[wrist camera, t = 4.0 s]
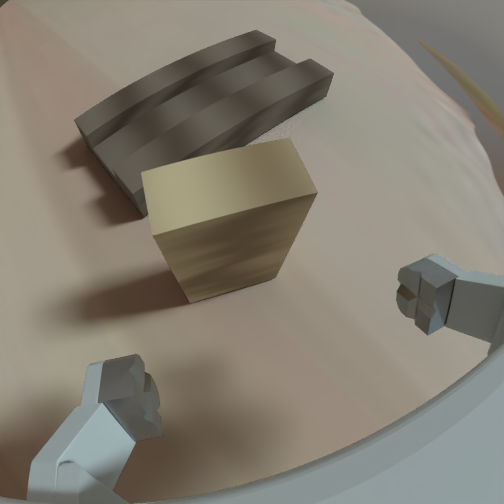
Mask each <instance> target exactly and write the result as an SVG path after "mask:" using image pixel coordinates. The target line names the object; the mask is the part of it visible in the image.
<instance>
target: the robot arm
mask: <svg viewBox="0 0 504 504" xmlns="http://www.w3.org/2000/svg"><path fill="white" fill-rule="evenodd" d="M398 281H399V283H400V284H401V285H400V286H399V288H398V290H397V296H396V301H397V304H398V308H399V309H400V311H401V312H402V313H403V314H404V315H405V316H406V317H408V318H412V319H414V321H415V325H416V326H417V327H418V328H420V329H421V330H422V331H423V332H424V333H425V334H426V335H427V336H428V335H429V334H431V333H433V332H435V331H437V330H438V329H440V328H442V327H444V326H445V325H446V327H448V328H450V329H453V330H456V331H459V332H462V333H464V334H467V335H470V336H473V337H476V338H478V339H481V340H484V341H487V342H490V343H491V345H490V348H489V350H488V357H486V358H485V359H484V360H483V361H482V362H480V363H479V364H478V365H477V366H476V367H474V368H473V369H472V370H470V371H469V372H468V373H467V374H465V375H464V376H463V377H461V378H460V379H459V380H457V381H456V382H455V383H453V384H452V385H451V386H449V387H448V388H446V389H445V390H444V391H442V392H441V393H439V394H438V395H436V396H435V397H433V398H432V399H430V400H429V401H427V402H426V403H424V404H423V405H421V406H420V407H418V408H416V409H415V410H413V411H412V412H410V413H408V414H407V415H405V416H403V417H402V418H400V419H398V420H396V421H395V422H393V423H391V424H389V425H388V426H386V427H384V428H382V429H380V430H379V431H377V432H375V433H373V434H371V435H369V436H367V437H365V438H363V439H361V440H359V441H357V442H355V443H353V444H351V445H349V446H347V447H344V448H342V449H340V450H338V451H336V452H333V453H331V454H329V455H326V456H324V457H322V458H319V459H317V460H314V461H312V462H309V463H307V464H304V465H302V466H299V467H296V468H293V469H291V470H288V471H285V472H282V473H279V474H276V475H273V476H270V477H267V478H264V479H260V480H257V481H254V482H250V483H246V484H243V485H239V486H235V487H231V488H227V489H223V490H219V491H214V492H210V493H205V494H200V495H194V496H189V497H183V498H177V499H170V500H162V501H154V502H145V503H133V504H504V276H500V275H494V274H488V273H482V272H476V271H468V272H467V271H465V270H464V269H462V268H460V267H459V266H457V265H455V264H454V263H452V262H450V261H448V260H447V259H445V258H443V257H442V256H440V255H438V254H431V255H429V256H427V257H424V258H423V259H421V260H419V261H416V262H414V263H412V264H409V265H407V266H405V267H402V268H400V270H399V273H398ZM159 406H160V399H159V394H158V390H157V387H156V385H155V382H154V380H153V378H152V376H151V375H150V374H148V373H146V372H145V364H144V362H143V360H142V359H141V357H140V355H138V354H134V355H129V356H124V357H120V358H115V359H110V360H105V361H101V362H96V363H91V364H90V365H89V366H88V367H87V372H86V377H85V382H84V388H83V393H82V399H81V405H80V406H78V407H75V409H74V410H73V411H72V412H71V413H70V415H69V416H68V417H67V418H66V419H65V421H64V422H63V423H62V424H61V426H60V427H59V428H58V429H57V430H56V432H55V433H54V434H53V435H52V437H51V438H50V439H49V440H48V442H47V443H46V444H45V445H44V447H43V448H42V449H41V450H40V452H39V453H38V454H37V455H36V457H35V458H34V459H33V460H32V462H31V468H30V474H29V482H28V490H27V499H26V501H25V500H19V499H12V498H7V497H1V496H0V504H130V503H128V502H127V501H126V500H125V499H123V498H122V497H120V496H119V495H117V494H116V493H114V492H113V489H114V487H115V485H116V483H117V480H118V478H119V476H120V474H121V472H122V470H123V468H124V466H125V464H126V462H127V460H128V458H129V456H130V454H131V452H132V450H133V448H134V446H135V444H136V442H135V441H140V440H145V439H150V438H155V437H159V436H163V432H162V421H161V416H160V415H159V413H158V412H157V409H158V407H159Z"/></svg>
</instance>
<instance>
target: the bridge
mask: <svg viewBox="0 0 504 504" xmlns="http://www.w3.org/2000/svg"><path fill="white" fill-rule="evenodd" d="M275 43H276V39H274V38H272V37H270V36H268V35H266V34H264V33H262V32H260V31H258V30H254V31H251V32H248V33H245V34H242V35H239V36H236V37H234V38H231V39H228V40H225V41H223V42H220V43H217V44H215V45H212V46H210V47H207V48H205V49H202V50H200V51H198V52H195V53H193V54H191V55H188V56H186V57H184V58H182V59H180V60H177V61H175V62H173V63H171V64H169V65H167V66H165V67H163V68H161V69H159V70H157V71H155V72H153V73H151V74H149V75H147V76H145V77H143V78H141V79H139V80H138V81H136V82H134V83H132V84H130V85H129V86H127V87H125V88H123V89H122V90H120V91H118V92H116V93H115V94H113V95H111V96H110V97H108V98H107V99H105V100H103V101H102V102H100V103H99V104H97V105H95V106H94V107H92V108H91V109H89V110H88V111H86V112H85V113H83V114H82V115H80V116H79V117H77V118H76V119H75V120H74V121H75V123H76V125H77V127H78V129H79V131H80V133H81V135H82V137H83V139H84V141H85V142H86V144H87V145H88V147H89V148H90V149H91V151H92V152H93V153H94V155H95V156H96V157H97V158H98V160H99V161H100V162H101V164H102V165H103V166H104V168H105V169H106V170H107V171H108V173H109V174H110V175H111V176H112V178H113V179H114V180H115V182H116V183H117V184H118V185H119V187H120V188H121V189H122V190H123V192H124V193H125V194H126V195H127V197H128V198H129V199H130V200H131V201H132V203H133V204H134V205H135V206H136V208H137V209H138V210H139V211H140V212H141V214H142V215H143V216H144V217H145V216H146V215H147V214H148V210H147V204H146V199H145V193H144V187H143V182H142V176H141V172H144V171H147V170H151V169H154V168H158V167H161V166H165V165H169V164H172V163H176V162H180V161H184V160H188V159H192V158H196V157H200V156H204V155H208V154H212V153H217V152H221V151H225V150H230V149H235V148H239V147H243V146H244V145H246V144H248V143H249V142H251V141H252V140H254V139H255V138H257V137H258V136H260V135H262V134H263V133H265V132H266V131H268V130H270V129H271V128H273V127H275V126H276V125H278V124H279V123H281V122H283V121H284V120H286V119H288V118H289V117H291V116H293V115H295V114H296V113H298V112H300V111H301V110H303V109H305V108H307V107H308V106H310V105H312V104H314V103H315V102H317V101H319V100H321V99H323V98H324V97H326V96H327V93H328V90H329V87H330V84H331V81H332V78H333V75H334V73H333V72H331V71H330V70H328V69H327V68H325V67H323V66H322V65H320V64H319V63H317V62H315V61H314V60H312V59H308V60H305V61H303V62H300V63H298V64H296V63H294V62H293V61H291V60H289V59H287V58H286V57H284V56H282V55H280V54H279V53H277V52H275V51H274V49H275Z"/></svg>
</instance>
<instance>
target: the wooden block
mask: <svg viewBox="0 0 504 504" xmlns="http://www.w3.org/2000/svg"><path fill="white" fill-rule="evenodd" d="M141 176H142V182H143V187H144V193H145V199H146V204H147V210H148V215H149V220H150V225H151V230H152V235H153V237H154V239H155V241H156V243H157V245H158V247H159V248H160V250H161V252H162V254H163V256H164V258H165V259H166V261H167V263H168V265H169V267H170V269H171V270H172V272H173V274H174V276H175V278H176V279H177V281H178V283H179V285H180V286H181V288H182V290H183V292H184V293H185V295H186V297H187V298H188V300H189V302H190V303H193V302H197V301H200V300H204V299H207V298H211V297H214V296H217V295H221V294H224V293H227V292H231V291H234V290H238V289H241V288H244V287H247V286H251V285H254V284H257V283H261V282H264V281H267V280H270V279H274V278H276V276H277V274H278V272H279V270H280V268H281V266H282V264H283V262H284V260H285V258H286V256H287V254H288V252H289V250H290V248H291V246H292V244H293V242H294V240H295V238H296V236H297V234H298V232H299V230H300V228H301V226H302V224H303V222H304V220H305V218H306V216H307V214H308V212H309V209H310V207H311V205H312V203H313V201H314V199H315V197H316V195H317V193H318V192H317V190H316V188H315V186H314V184H313V182H312V180H311V178H310V176H309V174H308V172H307V170H306V168H305V166H304V164H303V162H302V160H301V158H300V156H299V154H298V152H297V150H296V149H295V147H294V145H293V143H292V141H291V139H290V138H287V139H281V140H275V141H270V142H264V143H259V144H254V145H249V146H244V147H239V148H235V149H230V150H225V151H221V152H217V153H212V154H208V155H204V156H200V157H196V158H192V159H188V160H184V161H180V162H176V163H172V164H169V165H165V166H161V167H158V168H154V169H151V170H147V171H144V172H141Z"/></svg>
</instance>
